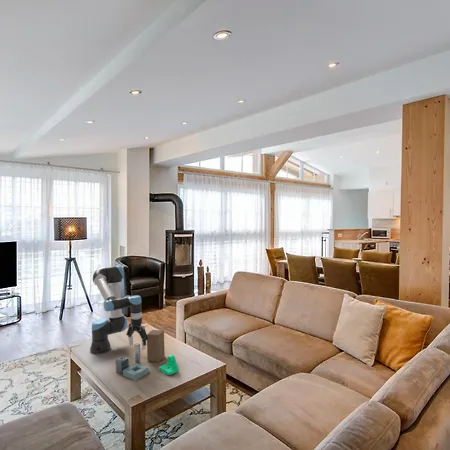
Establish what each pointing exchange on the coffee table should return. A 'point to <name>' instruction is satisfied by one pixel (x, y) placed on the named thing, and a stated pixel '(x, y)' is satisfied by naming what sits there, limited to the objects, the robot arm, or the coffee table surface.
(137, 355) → the cylinder
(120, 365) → the square bit
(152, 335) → the wooden block
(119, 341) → the coffee table surface
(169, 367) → the camera mount
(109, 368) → the coffee table surface
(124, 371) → the socket plate
